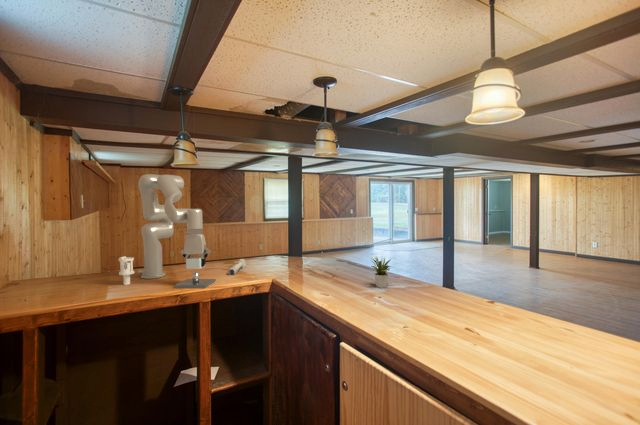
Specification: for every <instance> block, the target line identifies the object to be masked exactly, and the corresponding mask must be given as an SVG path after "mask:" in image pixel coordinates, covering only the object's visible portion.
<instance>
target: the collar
mask: <svg viewBox="0 0 640 425" xmlns="http://www.w3.org/2000/svg"><path fill="white" fill-rule="evenodd" d="M201 259H202V257H201V256H190V258H188V259H185V267H186V269H187V270H192V269H193V270H194V269H195V270H198V269H199V270H200V269H203V268H205V267H206V265H205V266H203V267H202V266H201Z"/></svg>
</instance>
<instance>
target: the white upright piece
mask: <svg viewBox="0 0 640 425" xmlns="http://www.w3.org/2000/svg"><path fill="white" fill-rule="evenodd" d="M134 260H135V257H133V256H128V257H127V256H126V255H125V256H120V257H119V258H118V262H119V264H120V265H119V267H120V270H119V271H118V276H123V277H122V278H123V285H124V286H125V285H126V286H127V285H131V275H134V274H135V270H134V266H133V265H134V264H133V263H134Z"/></svg>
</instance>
